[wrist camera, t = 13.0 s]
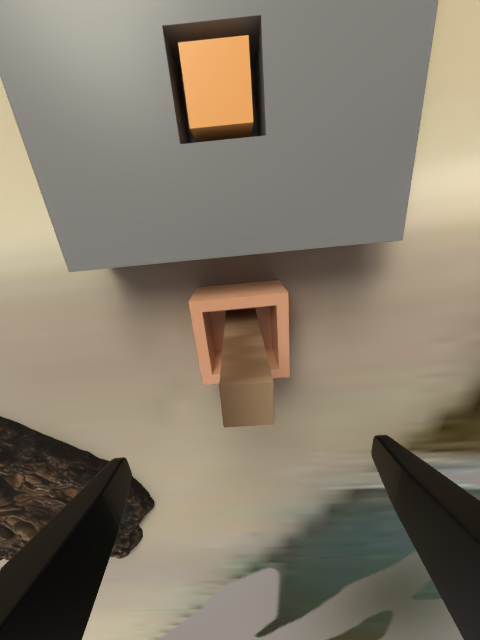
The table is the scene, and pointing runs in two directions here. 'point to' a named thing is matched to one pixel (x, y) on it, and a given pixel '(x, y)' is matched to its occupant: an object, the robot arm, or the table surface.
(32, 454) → the stone relief
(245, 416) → the brown wooden bar
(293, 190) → the box
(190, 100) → the button
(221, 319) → the holder
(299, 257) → the table surface
